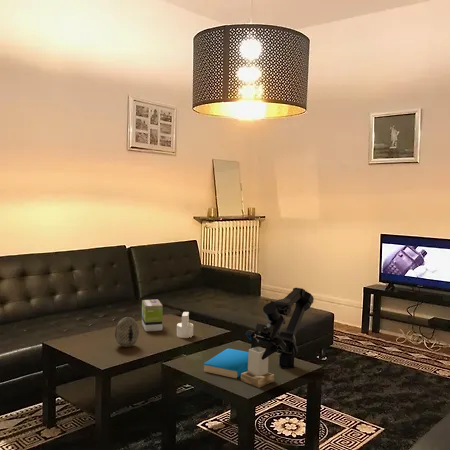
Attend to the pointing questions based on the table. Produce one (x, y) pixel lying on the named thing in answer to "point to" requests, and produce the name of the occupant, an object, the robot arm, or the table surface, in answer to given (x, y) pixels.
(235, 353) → the book
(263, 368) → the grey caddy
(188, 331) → the cylinder with rectangular tab
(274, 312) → the robot arm
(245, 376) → the pine crate
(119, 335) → the decorative egg
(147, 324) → the tea box
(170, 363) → the table surface
